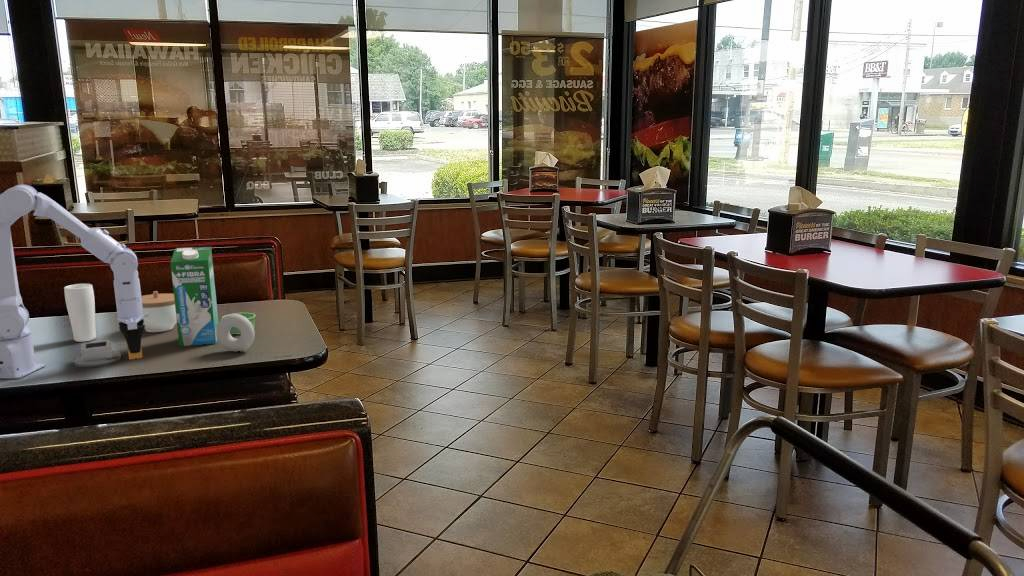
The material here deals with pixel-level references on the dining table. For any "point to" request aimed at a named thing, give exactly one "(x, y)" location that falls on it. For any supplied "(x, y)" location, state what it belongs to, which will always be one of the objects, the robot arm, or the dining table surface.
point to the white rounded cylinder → (81, 311)
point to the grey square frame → (97, 354)
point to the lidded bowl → (159, 312)
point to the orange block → (135, 354)
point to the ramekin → (248, 315)
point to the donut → (225, 336)
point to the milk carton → (194, 295)
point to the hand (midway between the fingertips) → (134, 350)
